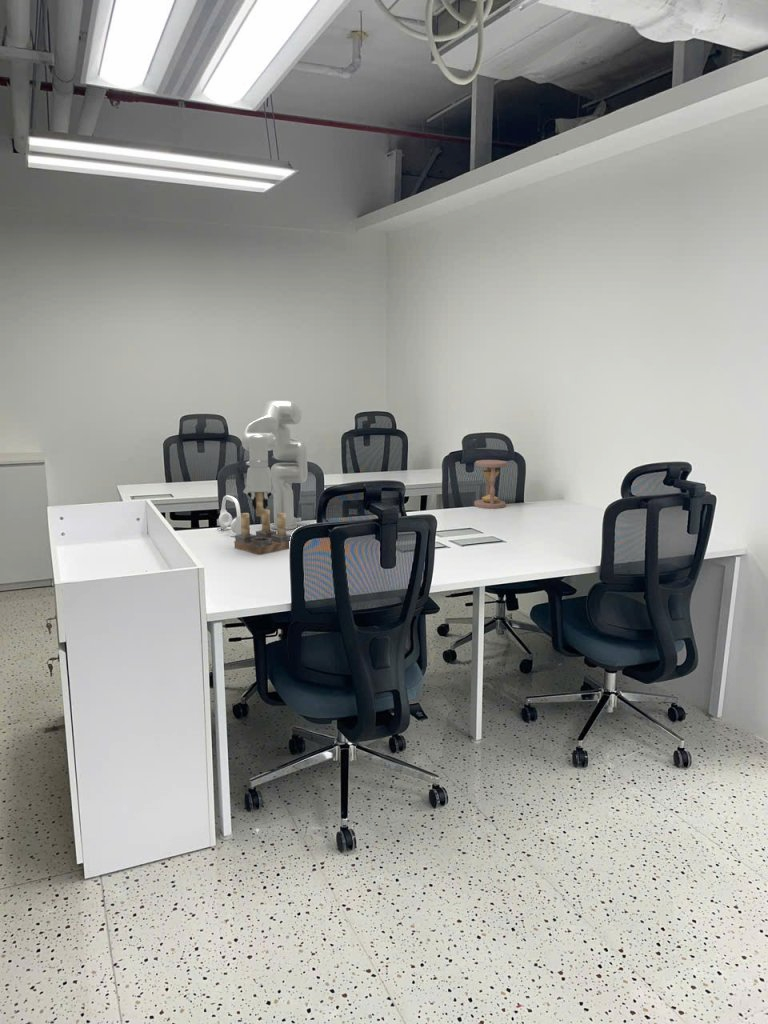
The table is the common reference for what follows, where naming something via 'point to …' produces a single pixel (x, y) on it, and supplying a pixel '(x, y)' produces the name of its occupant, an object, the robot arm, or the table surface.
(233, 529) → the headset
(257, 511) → the oak leg
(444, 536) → the table surface
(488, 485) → the hourglass
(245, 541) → the stool
